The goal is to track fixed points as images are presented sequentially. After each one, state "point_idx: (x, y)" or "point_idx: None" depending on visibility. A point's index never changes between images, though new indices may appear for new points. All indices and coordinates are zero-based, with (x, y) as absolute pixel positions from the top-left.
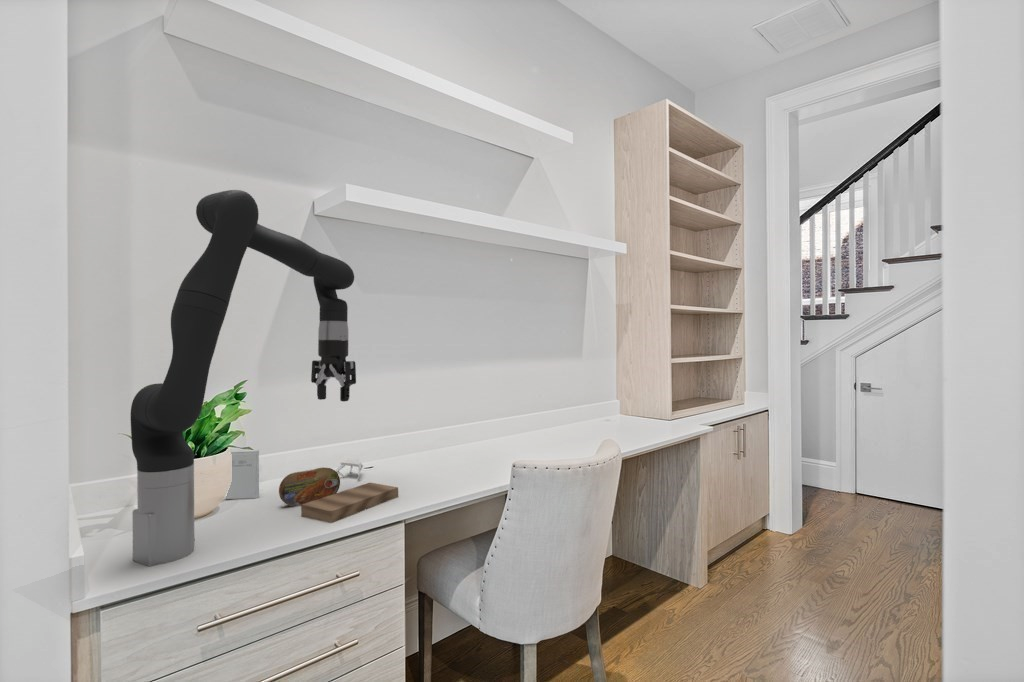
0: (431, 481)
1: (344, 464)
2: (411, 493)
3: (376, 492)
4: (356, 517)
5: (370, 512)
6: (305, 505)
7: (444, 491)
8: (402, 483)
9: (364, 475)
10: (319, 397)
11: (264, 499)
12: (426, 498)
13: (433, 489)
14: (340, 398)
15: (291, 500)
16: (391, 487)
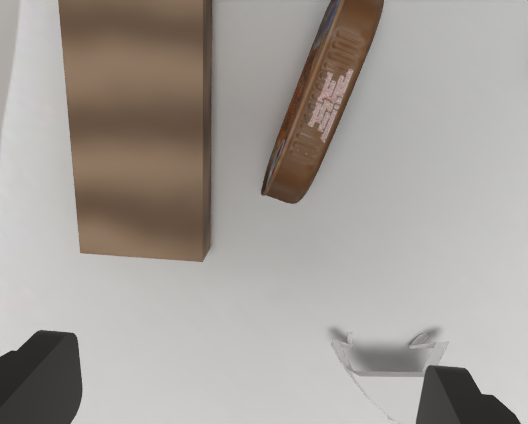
0: (140, 409)
1: (422, 373)
2: (104, 297)
3: (94, 179)
4: None
5: None
6: None
7: None
8: (200, 365)
9: None
10: (437, 374)
11: (494, 45)
12: (34, 275)
13: (79, 350)
14: (52, 342)
15: (329, 19)
16: (96, 243)
